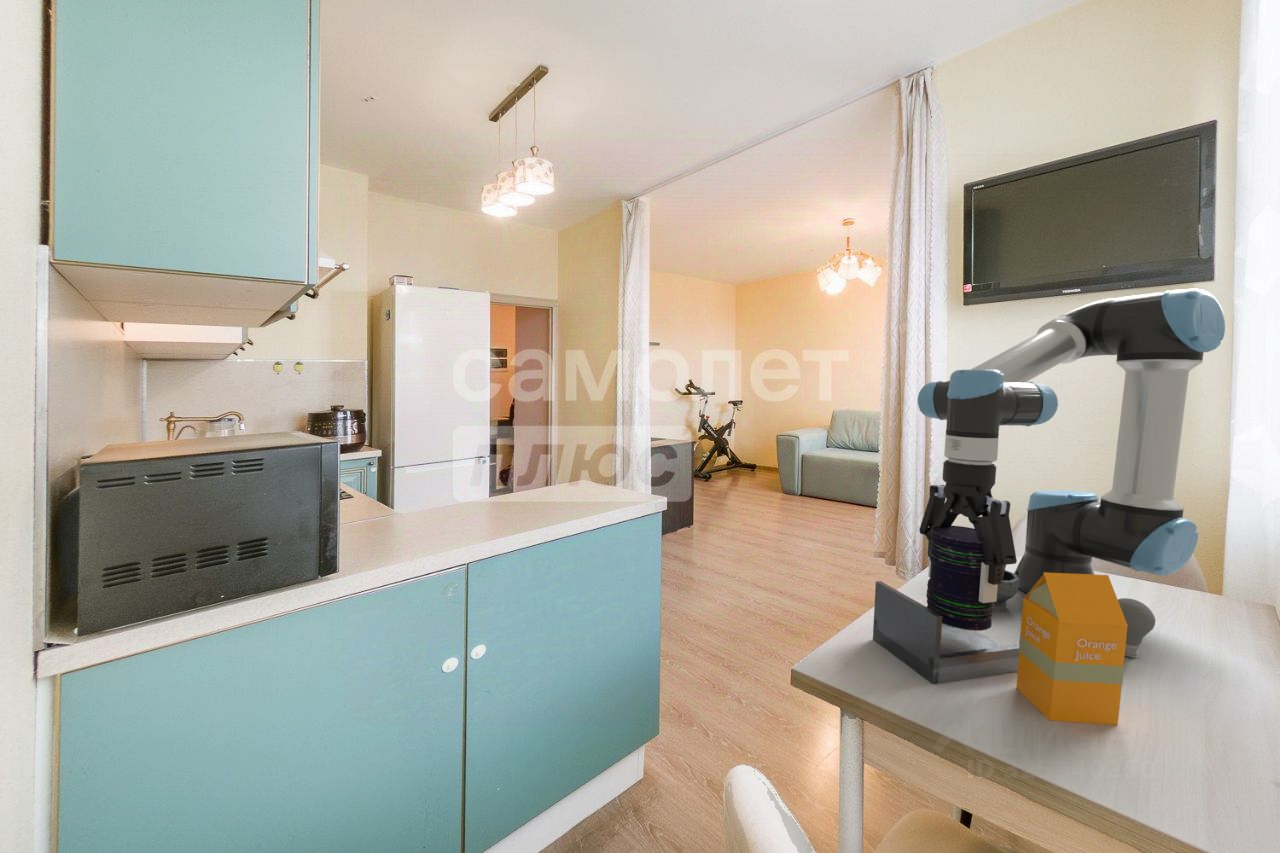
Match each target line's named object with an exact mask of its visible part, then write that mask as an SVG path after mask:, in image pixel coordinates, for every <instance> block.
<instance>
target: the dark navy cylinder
mask: <svg viewBox="0 0 1280 853" xmlns="http://www.w3.org/2000/svg"><path fill="white" fill-rule="evenodd" d="M931 533H932V536H931V542H930V554H929V556H930V557H929V558H930V561H931V569H930V577H929V579H928V580H927V584H926V585H927V589H926V604H927V606H926V607H927V608H929V609H931V610H933V611H934V612H936V613H938V614H940V615H941V616H942V623H943V624H945V625H948V626H951V627H955V628H959V629H964V630H972V631H977V632H978V631H979V632H980V631H981V632H982V631H987V630H990V629H991V628H992V624H993V622H992V618H993V613H994V612H995V610H994V603H993V602H988V603H982V602H980V601H979V590H980V577H981V564H982V562H985V561H986V558H985V555H984V553H983V550H982V543H983V542H979V539H978V536H977V534H976V531H975V528H974V527H968V526H960V525H951V527H942V528H939V527H937V526H935V527H933V528H932V532H931ZM994 557H995V555H994Z"/></svg>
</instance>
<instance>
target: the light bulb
mask: <svg viewBox="0 0 1280 853" xmlns="http://www.w3.org/2000/svg"><path fill="white" fill-rule="evenodd" d="M1117 599H1118V602H1119V605H1120V607H1121V610H1122V612H1123V615H1124V617H1125V620H1126V623H1127V625H1128V626H1127V636H1126V647H1125V657H1128V658H1132V657H1133V658H1134V657H1135V658H1136V657H1138V655H1139V646H1140V645H1141V644H1142V642H1143V639H1144V637H1145V636H1147V635H1148V634H1149V633H1151V631H1153V629H1154V628H1155V625H1156V617H1155V615H1154V613H1153V611H1152V610H1151V609H1150V607H1148V606H1147V605H1146V604H1144V603H1143V602H1141V601H1139V600H1136V599H1133V598H1125V597H1124V598H1117Z"/></svg>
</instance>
